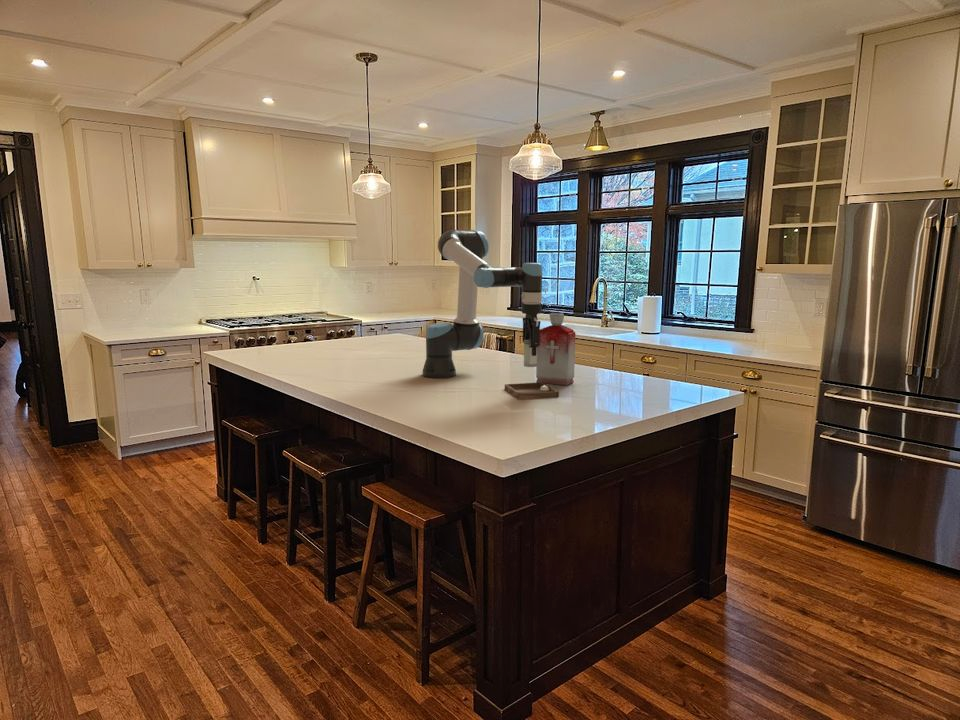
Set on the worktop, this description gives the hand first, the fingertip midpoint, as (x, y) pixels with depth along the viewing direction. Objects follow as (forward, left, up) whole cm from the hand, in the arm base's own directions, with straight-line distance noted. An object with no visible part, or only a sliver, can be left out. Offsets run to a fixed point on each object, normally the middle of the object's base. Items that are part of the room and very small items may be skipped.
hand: (530, 362), depth 245 cm
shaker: (0, 0, -1) cm, 1 cm away
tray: (+1, 0, -13) cm, 13 cm away
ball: (+5, +4, -12) cm, 14 cm away
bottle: (-15, +17, -13) cm, 27 cm away
